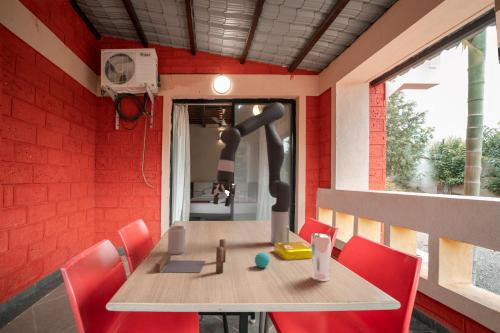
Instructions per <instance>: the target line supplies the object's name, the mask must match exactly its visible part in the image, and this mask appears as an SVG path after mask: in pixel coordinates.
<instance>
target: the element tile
mask: <svg viewBox="0 0 500 333" xmlns="http://www.w3.org/2000/svg"><path fill="white" fill-rule="evenodd" d="M273 251H274V253H275V254H276V255H277V256H278V257H280V258H281V259H283V260H285V261H291V260H292V261H294V260H308V259H310V260H312V256H311V245H308V244H306V243H304V242H302V241H292V242H291V241H289V242H285V243H275V244H274V248H273Z"/></svg>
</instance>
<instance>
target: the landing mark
mask: <svg viewBox="0 0 500 333" xmlns="http://www.w3.org/2000/svg"><path fill="white" fill-rule="evenodd" d="M205 263H206V260H187V259H186V260H181V259H179V260H178V259H174V260H173V259H172V260H171V259H170V262H169V263H168V264H167V265H166V266H165V267H164V268H163V270H162V271H161V272H160V273H164V274H165V273H166V274H167V273H169V274H171V273H172V274H173V273H175V274H178V273H180V274H200V273H201V272H202V269H203V267H204V266H205Z"/></svg>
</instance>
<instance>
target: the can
mask: <svg viewBox="0 0 500 333" xmlns="http://www.w3.org/2000/svg"><path fill="white" fill-rule="evenodd" d="M167 236H168V238H167V239H168V240H167V252H168V253H171V255H173V256H174V255H176V256H177V255H182V254H183V253H184V252H185V250H186V229H185V226H183V225H172V226H170V227H169V229H168V235H167Z"/></svg>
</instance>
